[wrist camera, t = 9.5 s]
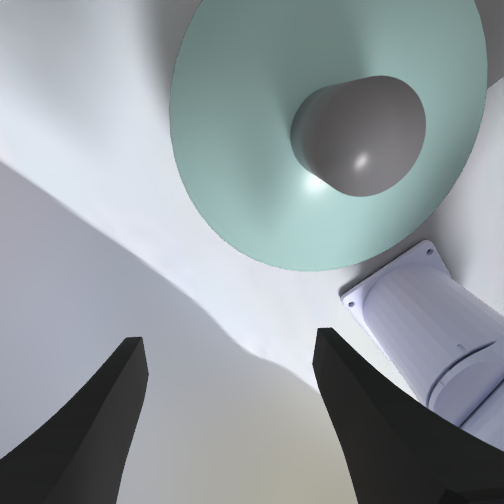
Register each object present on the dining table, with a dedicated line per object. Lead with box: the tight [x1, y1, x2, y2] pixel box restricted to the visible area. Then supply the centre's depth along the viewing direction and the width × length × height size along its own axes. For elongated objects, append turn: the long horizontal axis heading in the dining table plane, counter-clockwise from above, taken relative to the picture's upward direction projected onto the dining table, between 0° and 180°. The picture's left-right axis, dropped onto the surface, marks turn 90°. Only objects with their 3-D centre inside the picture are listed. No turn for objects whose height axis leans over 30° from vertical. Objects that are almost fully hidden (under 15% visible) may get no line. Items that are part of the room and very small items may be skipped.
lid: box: [169, 0, 488, 271], centre depth 12 cm, size 15×15×5 cm
